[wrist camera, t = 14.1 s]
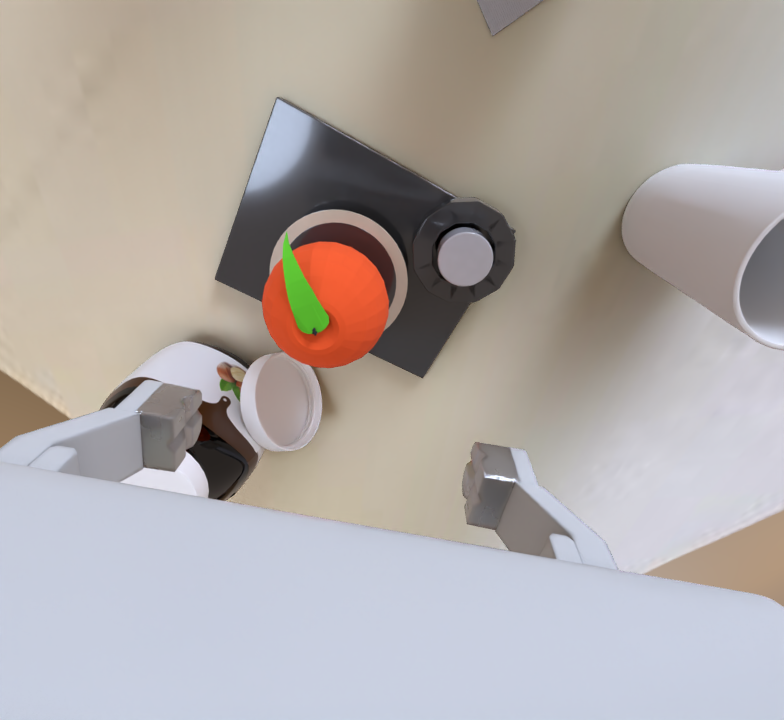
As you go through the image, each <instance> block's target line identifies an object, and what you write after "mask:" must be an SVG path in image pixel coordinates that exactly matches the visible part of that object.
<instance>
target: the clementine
mask: <svg viewBox="0 0 784 720" xmlns="http://www.w3.org/2000/svg"><path fill="white" fill-rule="evenodd" d="M262 307H263V316H264V319H265V322H266V325H267V328H268V330H269V333H270V335H271V337H272V338H273V339H274V341H275V342H276V344H277V345H278V347H279V348H281V349H282V350H283V351H284V352H285V353H286V354H287V355H289V356H290V357H291V358H293V359H295V360H297V361H299V362H301V363H303V364H306V365H310V366H313V367H320V368H333V367H338V366H343V365H346V364H349V363H351V362H353V361H355V360H357V359H359V358H362V357H363V356H364V355H365V354H366V353H368V352H369V351H370V350H371V349H372V348H373V347H374V346H375V344H376V343H377V341H378V340H379V338H380V337H381V335H382V333H383V331H384V328H385V325H386V322H387V319H388V314H389V299H388V295H387V291H386V287H385V283H384V280H383V278H382V276H381V275H380V273H379V271H378V269H377V268H376V266H375V265H374V264H373V263H372V262H371V261H370V260H369V259H368V258H367V257H366V256H365V255H363V254H362V253H360V252H359V251H357V250H355V249H354V248H352V247H350V246H346V245H343V244H340V243H337V242H315V243H311V244H307V245H303V246H301V247H298V248H297V249H295V250H293V251H292V249H291V247H290V244H289V240H288V234H287V231H286V235H285V239H284V243H283V258H282V259H281V260H280V261H279V262H278V263H277V264H276V265H275V266H274V268H273V270H272V272H271V274H270V276H269V278H268V280H267V282H266V284H265V287H264V292H263V298H262Z"/></svg>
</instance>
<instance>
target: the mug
mask: <svg viewBox="0 0 784 720" xmlns="http://www.w3.org/2000/svg"><path fill="white" fill-rule="evenodd" d="M622 238H623V241H624V244H625V247H626V249H627V250H628V252H629V253H630V254H631V256H632V257H633V258H634V259H636V260H637V261H638V262H640V263H641V264H642V265H644V266H645V267H646V268H648V269H649V270H650V271H652V272H653V273H655V274H656V275H658V276H659V277H661V278H662V279H664V280H665V281H667V282H668V283H670V284H671V285H673V286H674V287H676V288H677V289H679V290H680V291H682V292H683V293H685V294H686V295H688V296H689V297H691V298H692V299H694V300H695V301H697V302H698V303H700V304H701V305H703V306H704V307H706V308H707V309H708V310H710V311H711V312H713V313H714V314H716V315H717V316H719V317H720V318H722V319H723V320H725V321H726V322H728V323H729V324H731V325H732V326H734V327H735V328H737V329H738V330H740V331H742V332H743V333H745V334H747V335H748V336H749V337H751V338H752V339H753V340H755V341H756V342H758V343H760V344H762V345H765V346H767V347H770V348H774V349H779V350H784V168H783V169H781V170H780V171H775V170H763V169H752V168H741V167H731V166H721V165H704V164H680V165H675V166H672V167H669V168H666V169H664V170H662V171H660V172H658V173H656V174H655V175H653V176H652V177H650V178H649V179H648V180H646V181H645V182H644V183H643V184H642V185H641V186H640V187H639V188H638V189H637V190H636V192H635V193H634V194H633V196H632V197H631V199H630V201H629V203H628V205H627V207H626V209H625V212H624V215H623V220H622Z"/></svg>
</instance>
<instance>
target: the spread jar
mask: <svg viewBox="0 0 784 720" xmlns="http://www.w3.org/2000/svg"><path fill="white" fill-rule="evenodd" d="M145 380H153V381H158V382H164V383H169V384H173V385H178V386H183V387H188V388H193V389H197V390H200V391H201V393H202V404H201V405H200V406H199V408H198V411H199V412H200V413H201V415H202V425H201V431H200V434H199V436H198V439H197V441H196V442H195V444H194V445H193V447H191V448H189V449H186V457H185V458H184V460H183V461H182V463H181V464H180V466H179V467H178V468H177V470H176V471H175V472H170V471H163V470H156V469H150V468H143V470H141V471H139V472H137V473H136V474H134V475H132V476H130V477H128V478H127V479H125V480H123V481H121V482H120V483H125V484H131V485H136V486H142V487H148V488H153V489H159V490H165V491H171V492H176V493H182V494H188V495H193V496H199V497H205V498H210V499H216V500H222V501H226V500H227V499H229V498H230V497H232V496H233V495H234V494H235V493H236V492H237V491H238V490H239V489H240V488H241V486H242V485H243V484H244V483H245V482H246V480H247V479H248V478H249V476H250V475H251V473H252V472H253V470H254V469H255V467H256V466H257V464H258V462H259V460H260V458H261V457H262V455H263V452H264V450H265V449H268V450H270V451H293V450H298V449H300V448H302V447H304V446H306V445H307V444H308V443H309V442H310V441H311V440H312V438H313V437H314V435H315V434H316V431H317V429H318V427H319V424H320V420H321V414H322V394H321V389H320V385H319V382H318V379H317V377H316V375H315V373H314V371H313V369H312V368H311V366H310V365H306V364H303V363H301V362H299V361H297V360H295V359H293V358H291V357H290V356H289V355H287V354H286V353H285V352H284V351H283V352H278V353H273V354H268V355H264V356H262V357H260V358H258V359H257V360H256V361H254V362H253V363H252V364H251V366H249V365H248V364H247V363H245V362H244V361H243V360H241V359H240V358H239V357H237V356H235V355H234V354H232V353H230V352H228V351H225V350H223V349H221V348H218V347H215V346H212V345H208V344H204V343H200V342H189V341H185V342H178V343H175V344H172V345H169V346H167V347H165V348H163V349H161V350H160V351H158V352H157V353H155V354H154V355H153V356H151V357H150V358H149V359H147V360H146V361H145V362H144V363H142V364H141V365H140V366H139V367H138V368H137V369H136V370H134V371H133V372H132V373H131V374H130V375H129V376H128V377H126V378H125V379H124V380H123V381H122V382H121V383H120V384H119V385H118V386H117V387H116V388H115V389H114V391H113V392H112V393H111V394H110V395H109V397H108V398H107V399H106V400H105V402H104V403H103V405H102V406H101V408H100V410H103V409H106V408H116V407H117V406H118V405H119V404H120V403H121V402H122V401H123V400H124V399H125V398H126V397H127V396H128V395H130V394H131V393H132V392H133V391H134V390H135V389H136V388H137V387H138V386H139V385H140V384H141V383H142V382H144V381H145ZM100 410H99V411H100Z"/></svg>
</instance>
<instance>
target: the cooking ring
mask: <svg viewBox="0 0 784 720" xmlns="http://www.w3.org/2000/svg"><path fill="white" fill-rule="evenodd" d="M286 231H287V234H288V240H289V244H290V247H291V249H292V251H293V250H295V249H297V248H298V247H301V246H303V245H307V244H311V243H315V242H337V243H340V244H343V245H346V246H350V247H352V248H354V249H355V250H357V251H359V252H360V253H362V254H363V255H365V256H366V257H367V258H368V259H369V260H370V261H371V262H372V263H373V264H374V265H375V266H376V268H377V269H378V271H379V273H380V275H381V276H382V278H383V280H384V283H385V287H386V291H387V295H388V299H389V314H388V319H387V322H386V325H385V328H384V330H385V329H387V328H388V327H389V326H390V325H391V324H392V323H393V321H394V320H395V319H396V317H397V316H398V314H399V313H400V311H401V309H402V307H403V305H404V301H405V298H406V294H407V286H408V276H407V268H406V264H405V260H404V258H403V255H402V253H401V251H400V249H399V247H398V245H397V243H396V242H395V241H394V239H393V238H392V237H391V235H390V234H389V233H388V232H387V231H386V230H385V229H384V228H382V227H381V226H380V225H379V224H378V223H376V222H374V221H373V220H371V219H370V218H368V217H365V216H363V215H361V214H358V213H355V212H352V211H346V210H336V209H330V210H322V211H318V212H314V213H311V214H309V215H306V216H304V217H302V218H301V219H299V220H297V221H296V222H295V223H293V224H292V225H291V226H290V227H289V228H288V229H287V230H286ZM286 231H285V232H284V233H283V234H282V236H281V237H280V239H279V240H278V242H277V244H276V246H275V248H274V250H273V253H272V257H271V262H270V274H271V272H272V270H273V268H274V266H275V265H276V264H277V263H278V262H279V261H280V260H281V259H282V258H283V243H284V239H285V235H286ZM270 274H269V276H270Z"/></svg>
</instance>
